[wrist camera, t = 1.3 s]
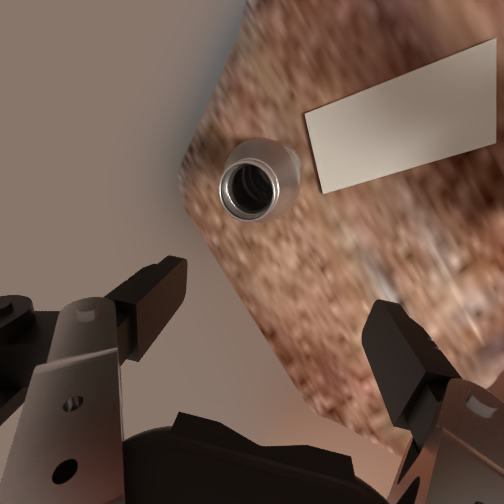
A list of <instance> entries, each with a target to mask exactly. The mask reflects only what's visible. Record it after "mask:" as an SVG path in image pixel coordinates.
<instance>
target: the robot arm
mask: <svg viewBox="0 0 504 504" xmlns="http://www.w3.org/2000/svg"><path fill="white" fill-rule="evenodd" d="M186 282H187V260H186V259H184V258H179V257H175V256H167V257H166V258H164V259H163V260H162V261H161V262H159V263H158V264H152V265H149V266H147V267H144V268H142V269H141V270H139V271H138V272H137V273H135V275H133V276H132V277H130V278H129V279H128V280H127V281H125V282H123V283H122V284H121V285H119V286H118V287H117V288H115V289H114V290H113V291H111V292H110V293H109V294H107V295H106V296H105V297H90V298H84V299H80V300H77V301H74V302H72V303H70V304H68V305H67V306H65V307H64V308H63V309H62V310H61V311H34V308H33V303H32V301H31V299H30V298H28V297H25V296H20V295H8V296H1V297H0V426H1V425H2V424H3V422H5V421H6V420H7V419H8V418H9V417H10V416H11V415H12V414H13V413H14V412H15V411H16V410H17V409H18V408H19V407H20V406H21V405H22V404H23V403H24V405H23V408H22V412H21V415H20V419H19V422H18V426H17V429H16V432H15V435H14V439H13V442H12V445H11V449H10V452H9V456H8V459H7V462H6V466H5V469H4V472H3V476H2V479H1V483H0V504H504V403H503V402H502V401H501V400H500V399H498V398H497V397H496V396H495V395H493V394H492V393H491V392H489V391H487V390H486V389H484V388H483V387H481V386H479V385H477V384H475V383H473V382H470V381H468V380H464V379H462V378H461V376H460V375H459V374H458V372H457V371H456V370H455V368H454V367H453V366H452V365H451V363H450V362H449V361H448V359H447V358H446V357H445V356H444V354H443V353H442V352H441V350H438V347H437V345H436V344H435V343H434V341H431V337H430V336H429V335H428V334H427V332H426V331H425V330H424V328H422V327H421V326H420V325H419V324H417V323H416V322H415V321H414V320H412V319H411V318H410V317H409V316H408V315H407V313H406V312H405V311H404V309H403V308H402V307H401V305H400V304H398V303H394V302H389V301H384V300H380V299H378V300H376V301H375V303H374V304H373V307H372V309H371V311H370V314H369V316H368V319H367V321H366V323H365V326H364V328H363V331H362V345H363V348H364V351H365V353H366V356H367V358H368V361H369V364H370V366H371V369H372V371H373V374H374V377H375V379H376V382H377V385H378V387H379V390H380V392H381V395H382V398H383V400H384V403H385V406H386V408H387V411H388V413H389V416H390V419H391V421H392V424H393V426H395V427H399V428H403V429H407V430H410V431H411V433H412V435H413V437H412V438H411V440H410V441H409V443H408V445H407V448H406V450H405V453H404V456H403V458H402V461H401V464H400V466H399V469H398V472H397V475H396V477H395V480H394V483H393V486H392V488H391V491H390V493H389V496H388V497H387V499H385V498H384V497H383V496H381V495H380V494H379V493H378V492H377V491H376V490H375V489H373V488H372V487H371V486H370V485H368V484H367V483H365V482H364V481H363V480H361V479H360V478H358V477H356V476H355V474H354V469H353V464H352V459H351V457H350V456H347V455H343V454H339V453H336V452H331V451H328V450H324V449H320V448H316V447H313V446H309V445H293V446H260V445H258V444H256V443H254V442H252V441H251V440H249V439H247V438H246V437H244V436H242V435H240V434H239V433H237V432H235V431H233V430H232V429H230V428H228V427H227V426H225V425H223V424H222V423H220V422H217V421H213V420H209V419H205V418H202V417H197V416H194V415H190V414H186V413H182V412H179V413H178V415H177V417H176V419H175V422H174V424H173V426H167V427H160V428H154V429H151V430H147V431H144V432H142V433H139V434H137V435H134V436H132V437H130V438H128V439H126V440H125V432H124V417H123V402H122V401H123V400H122V386H121V385H122V384H121V368H120V366H121V365H122V364H123V362H124V361H125V360H126V359H129V360H133V361H137V362H139V361H140V359H141V358H142V357H143V355H144V354H145V352H146V351H147V350H148V349H149V347H150V346H151V344H152V343H153V342H154V341H155V339H156V338H157V336H158V335H159V334H160V332H161V331H162V330H163V328H164V327H165V326H166V324H167V323H168V322H169V320H170V319H171V318H172V316H173V315H174V314H175V312H176V311H177V309H178V308H179V307H180V305H181V304H182V302H183V300H184V297H185V294H186Z"/></svg>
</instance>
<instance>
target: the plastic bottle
mask: <svg viewBox="0 0 504 504" xmlns="http://www.w3.org/2000/svg"><path fill="white" fill-rule="evenodd" d="M300 175H301V162H300V158H299V156H298V154H297V152H296V151H295V150H294V148H293V147H291V146H290V145H289V144H287V143H285V142H282V141H274V140H271V139H267V138H254V139H249V140H247V141H245V142H242V143H241V144H240V145H238V146H237V147H236V148H235V149H234V150H233V151H232V152H231V153H230V155H229V156H228V158H227V160H226V162H225V165H224V168H223V174H222V175H221V178H220V180H219V185H218V194H219V199H220V202H221V204H222V206H223V208H224V209H225V211H226V212H227V213H228V214H229V215H230V216H232V217H233V218H235V219H237V220H239V221H243V222H259V223H263V222H271V221H274V220H277V219H279V218H280V217H282V216H284V215H285V214H286V213H287V212H288V211H289V210H290V209H291V208H292V206H293V205H294V203H295V201H296V199H297V197H298V193H299V190H300Z"/></svg>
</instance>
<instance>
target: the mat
mask: <svg viewBox="0 0 504 504" xmlns="http://www.w3.org/2000/svg"><path fill="white" fill-rule="evenodd" d="M305 118H306V123H307V127H308V131H309V136H310V140H311V144H312V149H313V153H314V157H315V162H316V166H317V170H318V175H319V179H320V183H321V187H322V192H323V194H325V193H328V192H332V191H335V190H338V189H342V188H345V187H349V186H352V185H355V184H359V183H362V182H366V181H369V180H372V179H376V178H379V177H383V176H386V175H389V174H393V173H396V172H400V171H403V170H407V169H410V168H413V167H417V166H420V165H424V164H427V163H430V162H434V161H437V160H441V159H444V158H447V157H451V156H454V155H458V154H461V153H464V152H468V151H471V150H475V149H478V148H482V147H485V146H488V145H492V144H495V143H496V38H495V39H492V40H489V41H487V42H484V43H482V44H479V45H477V46H474V47H472V48H469V49H467V50H464V51H462V52H459V53H457V54H454V55H452V56H449V57H447V58H444V59H442V60H439V61H437V62H434V63H432V64H429V65H427V66H424V67H422V68H419V69H416V70H414V71H411V72H409V73H406V74H404V75H401V76H399V77H396V78H394V79H391V80H389V81H386V82H384V83H381V84H379V85H376V86H374V87H371V88H369V89H366V90H364V91H361V92H359V93H356V94H354V95H351V96H348V97H346V98H343V99H341V100H338V101H336V102H333V103H331V104H328V105H326V106H323V107H321V108H318V109H316V110H313V111H311V112H308V113H306V114H305Z"/></svg>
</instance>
